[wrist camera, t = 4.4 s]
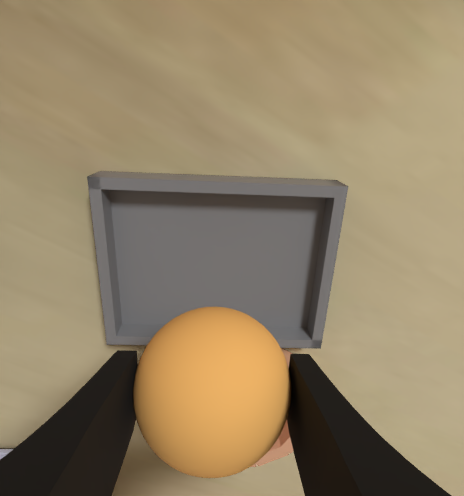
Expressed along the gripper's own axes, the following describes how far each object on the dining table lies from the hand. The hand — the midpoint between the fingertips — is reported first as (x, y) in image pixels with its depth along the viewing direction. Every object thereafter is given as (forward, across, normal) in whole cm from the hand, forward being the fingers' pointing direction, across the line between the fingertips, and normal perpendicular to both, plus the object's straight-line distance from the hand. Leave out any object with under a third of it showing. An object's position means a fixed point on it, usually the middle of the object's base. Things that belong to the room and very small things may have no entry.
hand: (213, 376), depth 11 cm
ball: (0, 0, 0) cm, 0 cm away
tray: (+10, 0, 0) cm, 10 cm away
